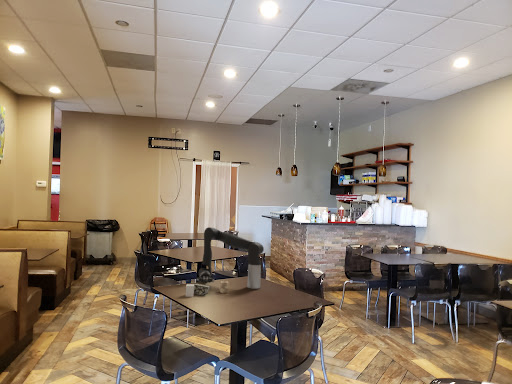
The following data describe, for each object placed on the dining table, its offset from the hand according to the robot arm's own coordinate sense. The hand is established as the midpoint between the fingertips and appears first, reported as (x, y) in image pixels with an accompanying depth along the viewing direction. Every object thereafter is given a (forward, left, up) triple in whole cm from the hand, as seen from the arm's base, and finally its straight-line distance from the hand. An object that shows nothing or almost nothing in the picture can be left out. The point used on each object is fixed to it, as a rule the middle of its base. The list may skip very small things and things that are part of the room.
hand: (205, 282), depth 252 cm
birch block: (-13, +3, -6) cm, 15 cm away
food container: (+1, +4, -4) cm, 6 cm away
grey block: (+10, +15, -6) cm, 19 cm away
